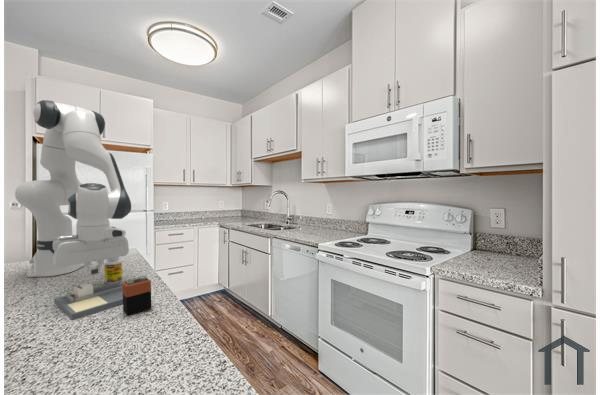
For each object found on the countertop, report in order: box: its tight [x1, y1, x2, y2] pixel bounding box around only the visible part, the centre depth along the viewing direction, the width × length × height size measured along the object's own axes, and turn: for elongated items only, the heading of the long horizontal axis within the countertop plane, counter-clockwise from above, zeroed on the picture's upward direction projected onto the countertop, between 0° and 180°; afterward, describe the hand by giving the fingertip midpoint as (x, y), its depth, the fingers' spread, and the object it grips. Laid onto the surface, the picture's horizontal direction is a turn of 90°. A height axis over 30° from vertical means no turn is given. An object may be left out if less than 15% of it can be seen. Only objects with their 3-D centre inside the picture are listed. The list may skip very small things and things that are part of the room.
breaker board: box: [54, 282, 123, 321], centre depth 93 cm, size 18×18×3 cm
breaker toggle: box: [73, 282, 94, 299], centre depth 92 cm, size 4×4×4 cm
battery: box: [121, 275, 152, 316], centre depth 86 cm, size 4×7×10 cm, turn 137°
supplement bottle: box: [104, 257, 123, 285], centre depth 109 cm, size 6×6×10 cm
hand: (93, 273), depth 94 cm, fingers closed
